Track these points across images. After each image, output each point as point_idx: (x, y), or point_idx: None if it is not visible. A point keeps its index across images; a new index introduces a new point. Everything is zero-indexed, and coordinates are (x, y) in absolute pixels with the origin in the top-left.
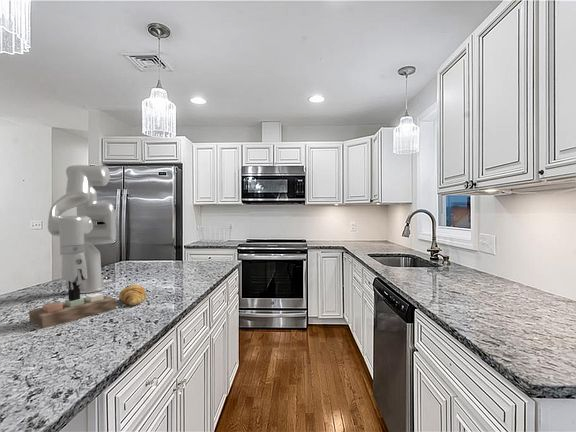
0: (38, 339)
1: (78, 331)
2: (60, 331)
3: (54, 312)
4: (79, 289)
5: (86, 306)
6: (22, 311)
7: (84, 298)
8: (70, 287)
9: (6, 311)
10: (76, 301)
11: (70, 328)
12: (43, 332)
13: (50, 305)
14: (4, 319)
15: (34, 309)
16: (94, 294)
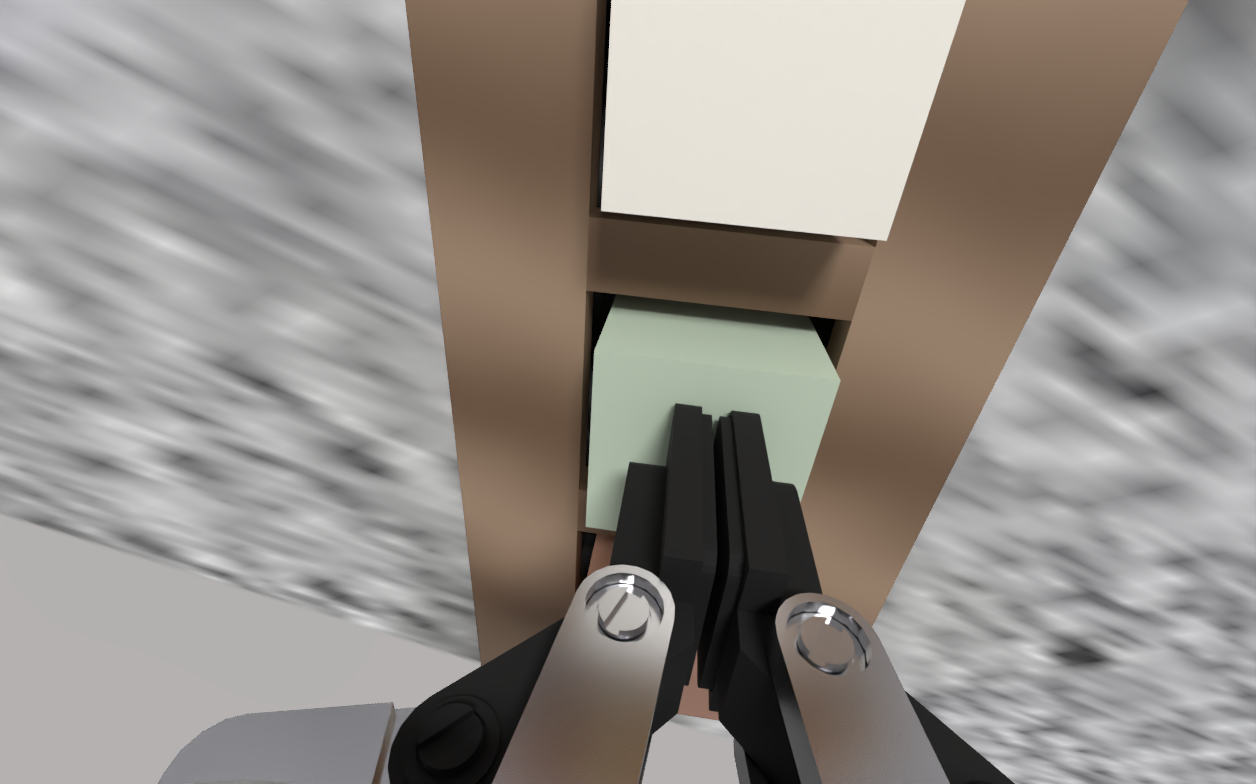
0: (995, 720)
1: (1220, 590)
2: (1025, 624)
3: None
4: (785, 554)
5: (980, 390)
6: (102, 470)
7: (448, 122)
8: (654, 722)
9: (17, 511)
10: (800, 477)
11: (1059, 571)
12: (893, 659)
13: (686, 688)
14: (280, 600)
15: (485, 649)
16: (701, 10)
